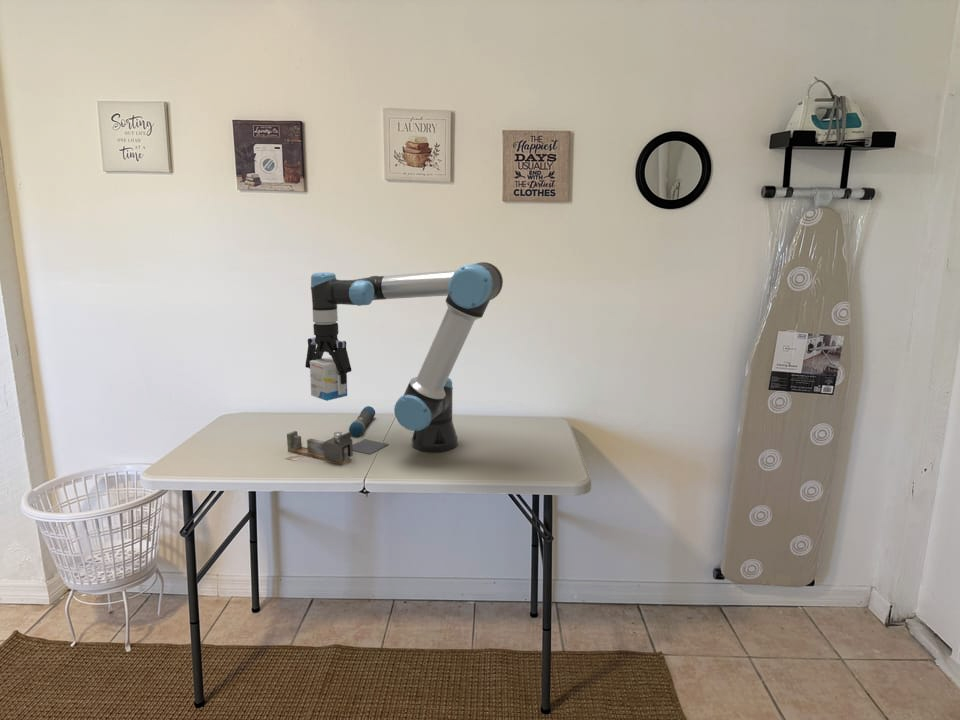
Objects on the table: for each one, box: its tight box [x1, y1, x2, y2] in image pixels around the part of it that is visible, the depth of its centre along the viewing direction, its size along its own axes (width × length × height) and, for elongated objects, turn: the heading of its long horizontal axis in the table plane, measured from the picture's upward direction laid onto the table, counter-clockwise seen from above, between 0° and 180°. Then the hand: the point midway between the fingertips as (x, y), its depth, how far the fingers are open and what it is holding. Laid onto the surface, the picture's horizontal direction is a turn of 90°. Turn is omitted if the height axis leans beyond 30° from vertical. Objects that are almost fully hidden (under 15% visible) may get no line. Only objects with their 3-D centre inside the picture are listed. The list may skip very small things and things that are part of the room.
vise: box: [285, 430, 351, 466], centre depth 190 cm, size 22×8×6 cm, turn 62°
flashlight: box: [348, 405, 376, 437], centre depth 220 cm, size 5×22×5 cm, turn 177°
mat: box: [352, 438, 389, 455], centre depth 201 cm, size 10×10×1 cm
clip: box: [324, 431, 354, 462], centre depth 188 cm, size 6×6×8 cm
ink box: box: [309, 356, 348, 402], centre depth 195 cm, size 9×8×12 cm
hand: (329, 391), depth 196 cm, fingers closed on ink box, 9 cm apart
